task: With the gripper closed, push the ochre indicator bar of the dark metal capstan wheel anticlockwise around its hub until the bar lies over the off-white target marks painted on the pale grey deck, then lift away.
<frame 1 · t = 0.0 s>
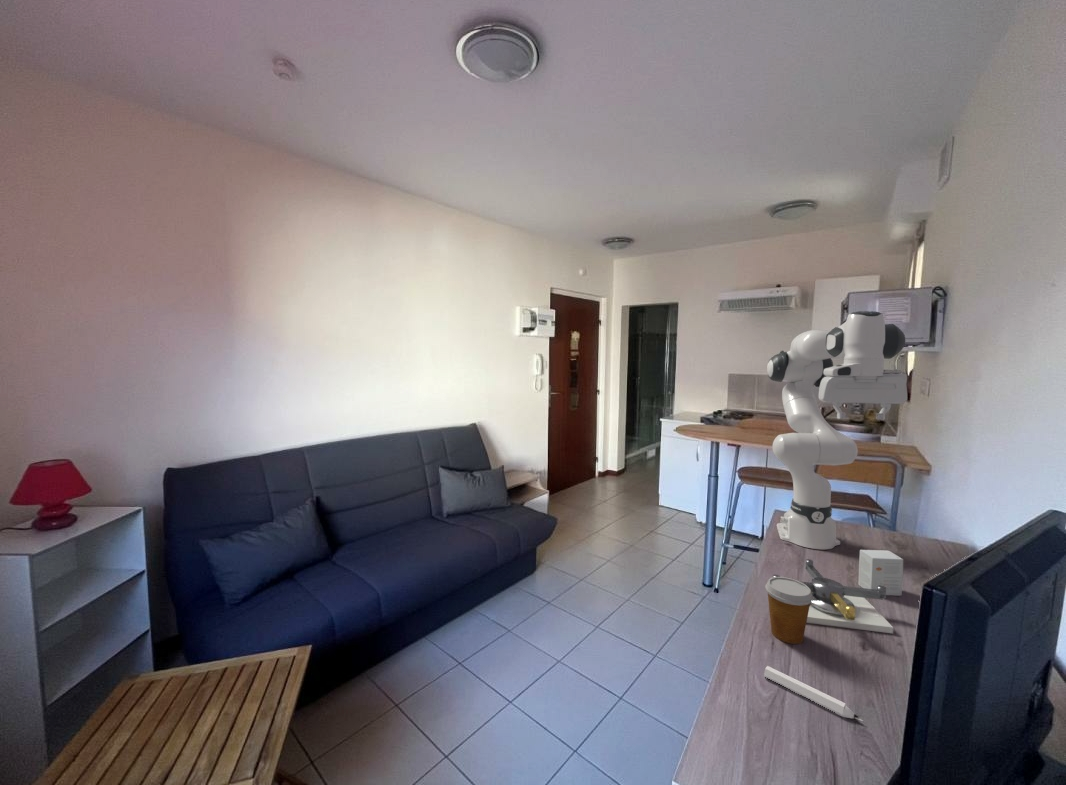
hand: (860, 419, 118), 48 cm above the table, fingers open, 8 cm apart
capstan: (827, 591, 110), point 4 cm above the table, hinge at 0.0°
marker: (811, 700, 81), on the table
small box: (879, 591, 119), on the table
disposable coffee cup: (786, 636, 99), on the table
stand: (828, 606, 111), on the table
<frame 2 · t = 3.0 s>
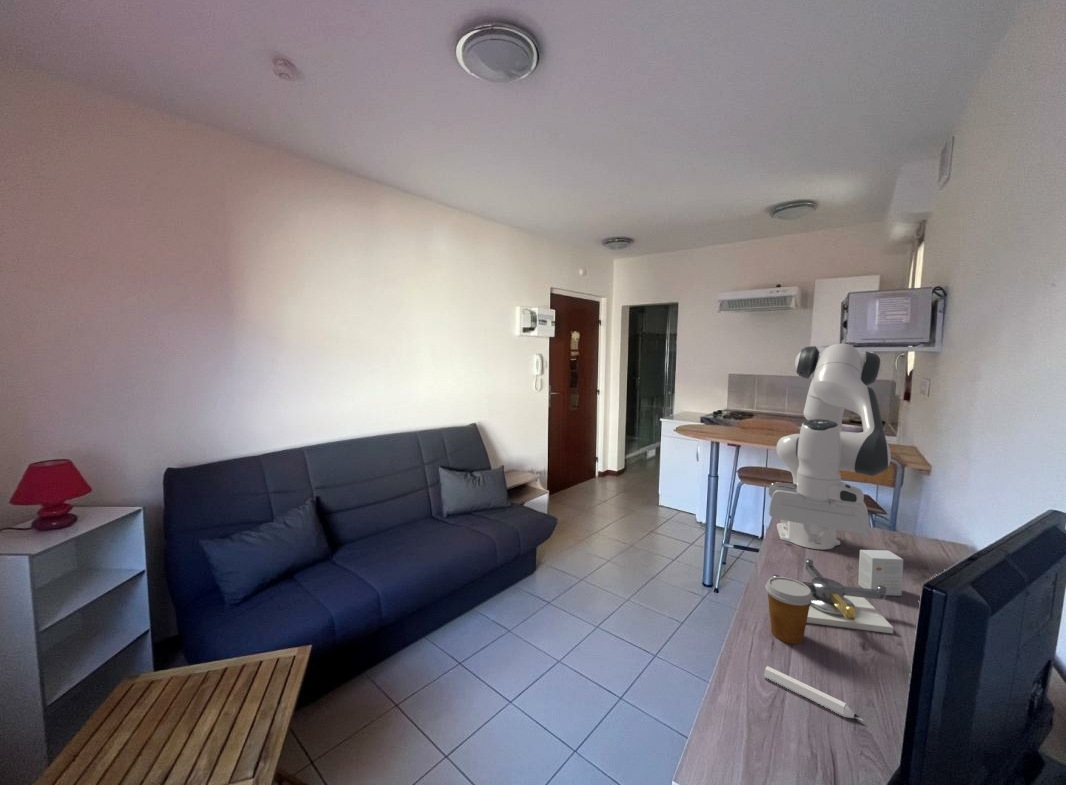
hand: (815, 542, 103), 20 cm above the table, fingers closed
nothing on the table moved.
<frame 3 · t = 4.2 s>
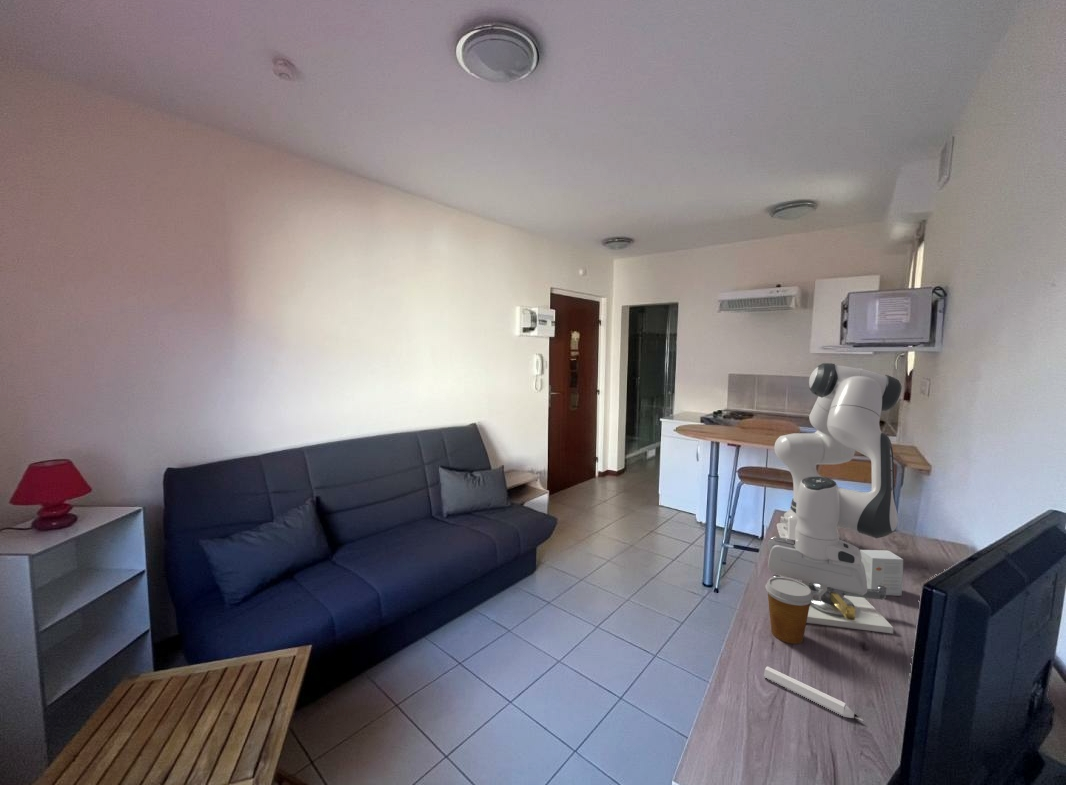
hand: (813, 599, 104), 6 cm above the table, fingers closed
nothing on the table moved.
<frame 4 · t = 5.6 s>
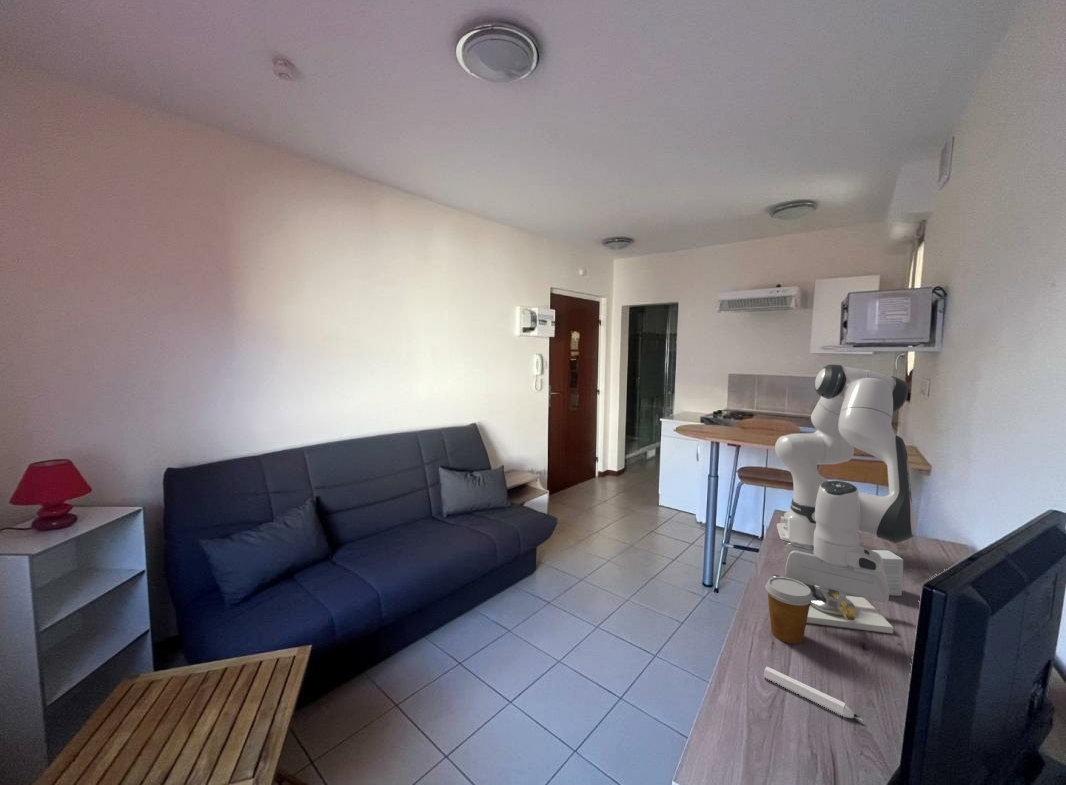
hand: (832, 606, 102), 5 cm above the table, fingers closed
capstan: (827, 591, 110), point 4 cm above the table, hinge at 0.0°, touching gripper
everything else where it was.
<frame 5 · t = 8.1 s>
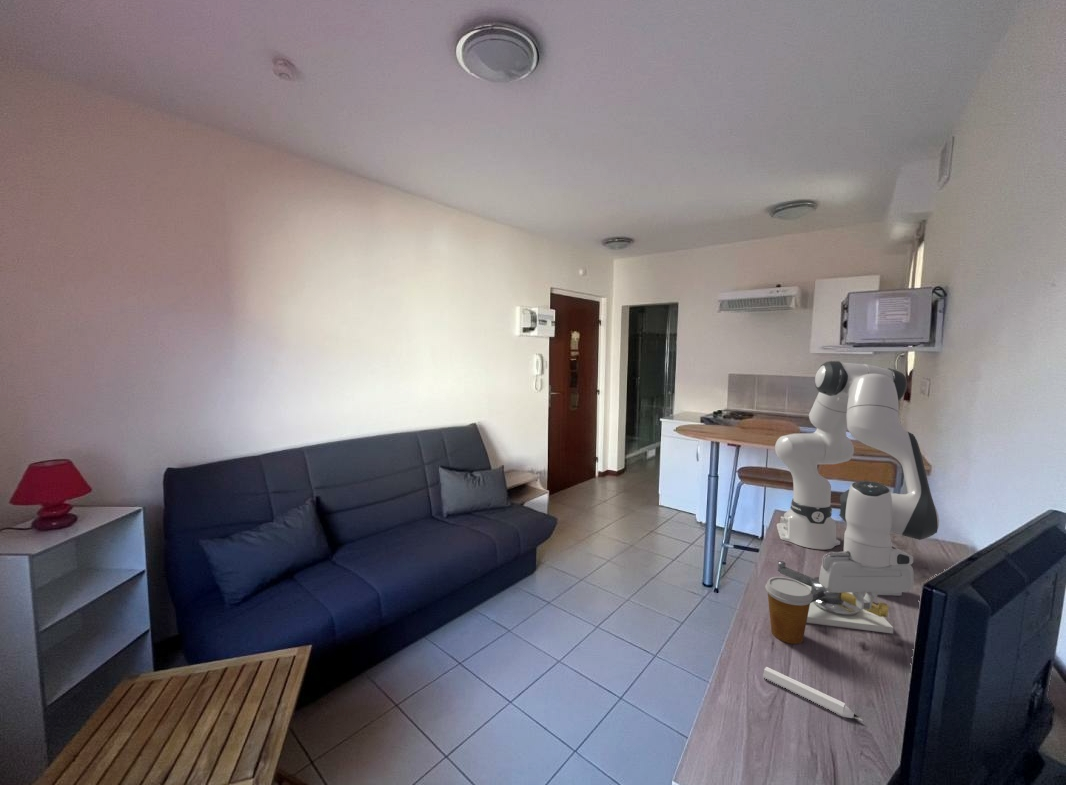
hand: (863, 607, 101), 5 cm above the table, fingers closed
capstan: (827, 591, 110), point 4 cm above the table, hinge at 42.4°, touching gripper
everything else where it was.
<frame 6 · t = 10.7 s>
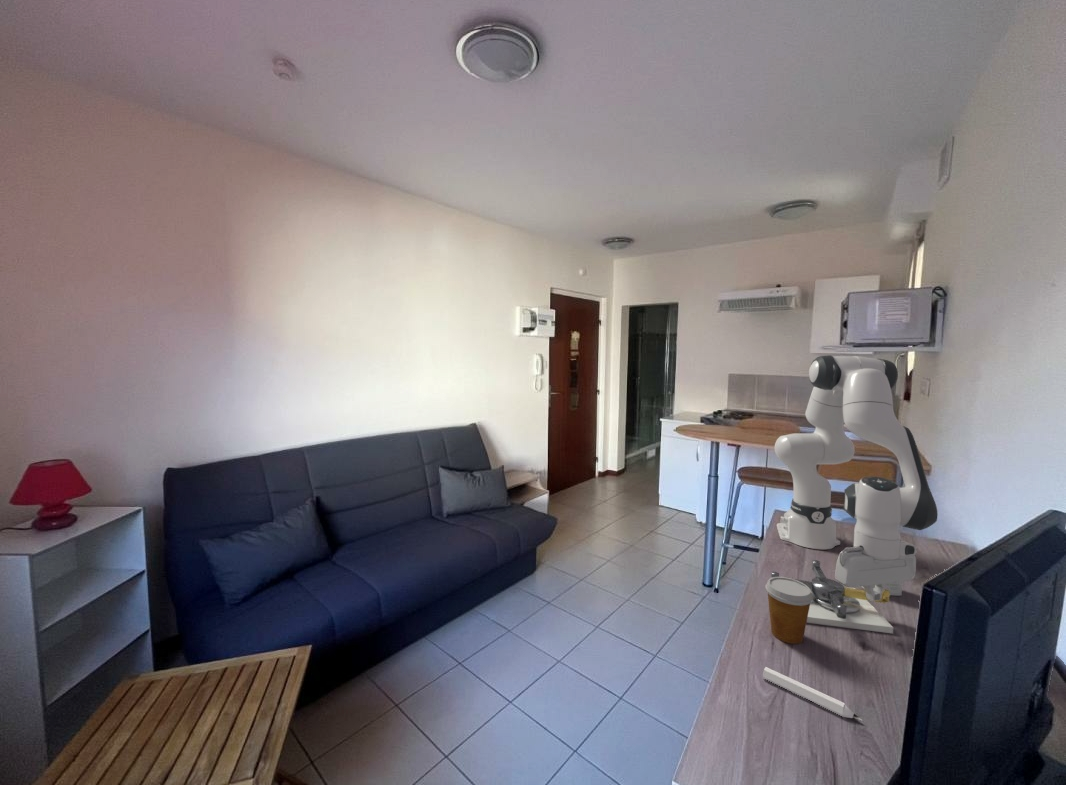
hand: (873, 599, 105), 5 cm above the table, fingers closed
capstan: (827, 591, 110), point 4 cm above the table, hinge at 81.8°, touching gripper
everything else where it was.
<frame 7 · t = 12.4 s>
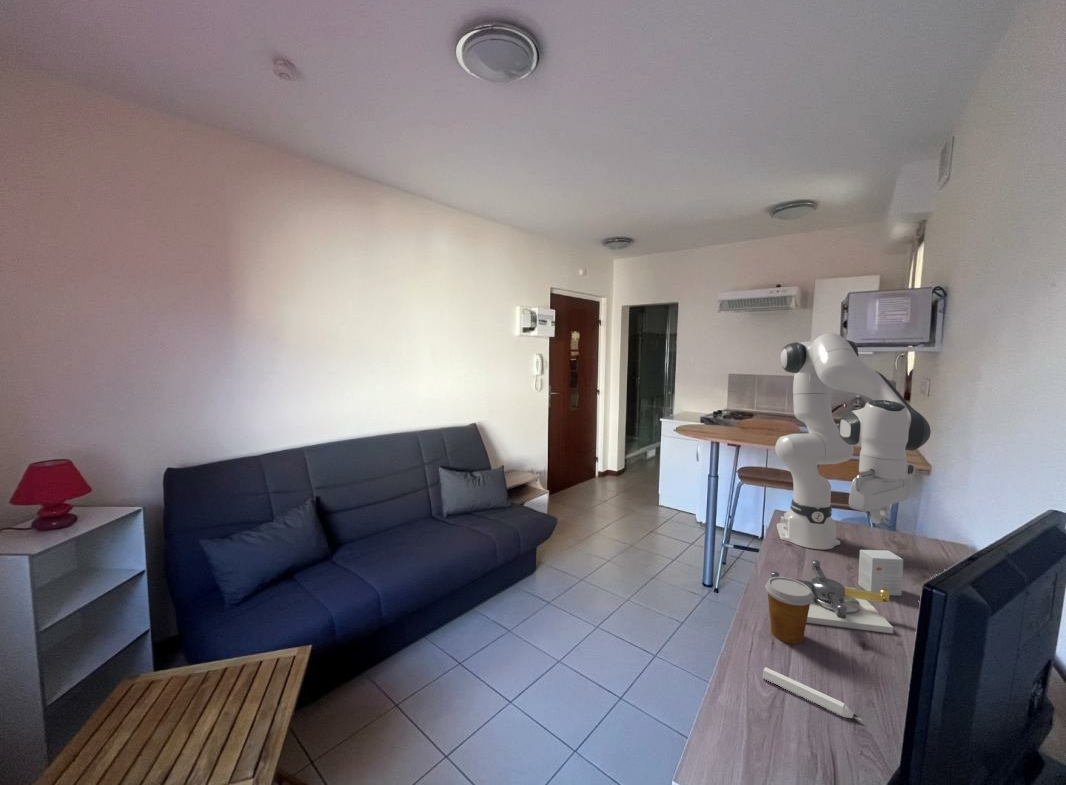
hand: (877, 522, 104), 24 cm above the table, fingers closed
capstan: (827, 591, 110), point 4 cm above the table, hinge at 81.8°
everything else where it was.
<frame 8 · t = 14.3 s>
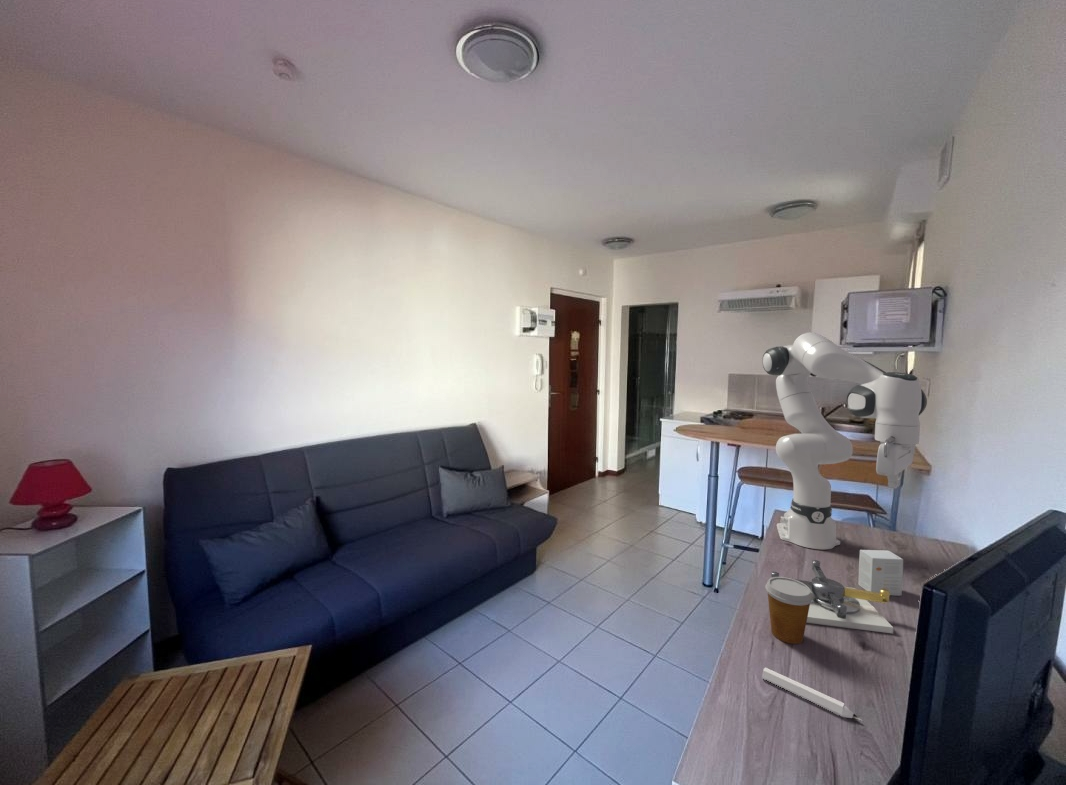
hand: (893, 487, 111), 31 cm above the table, fingers closed
nothing on the table moved.
at the end: capstan at +82° (first picture: +0°) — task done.
